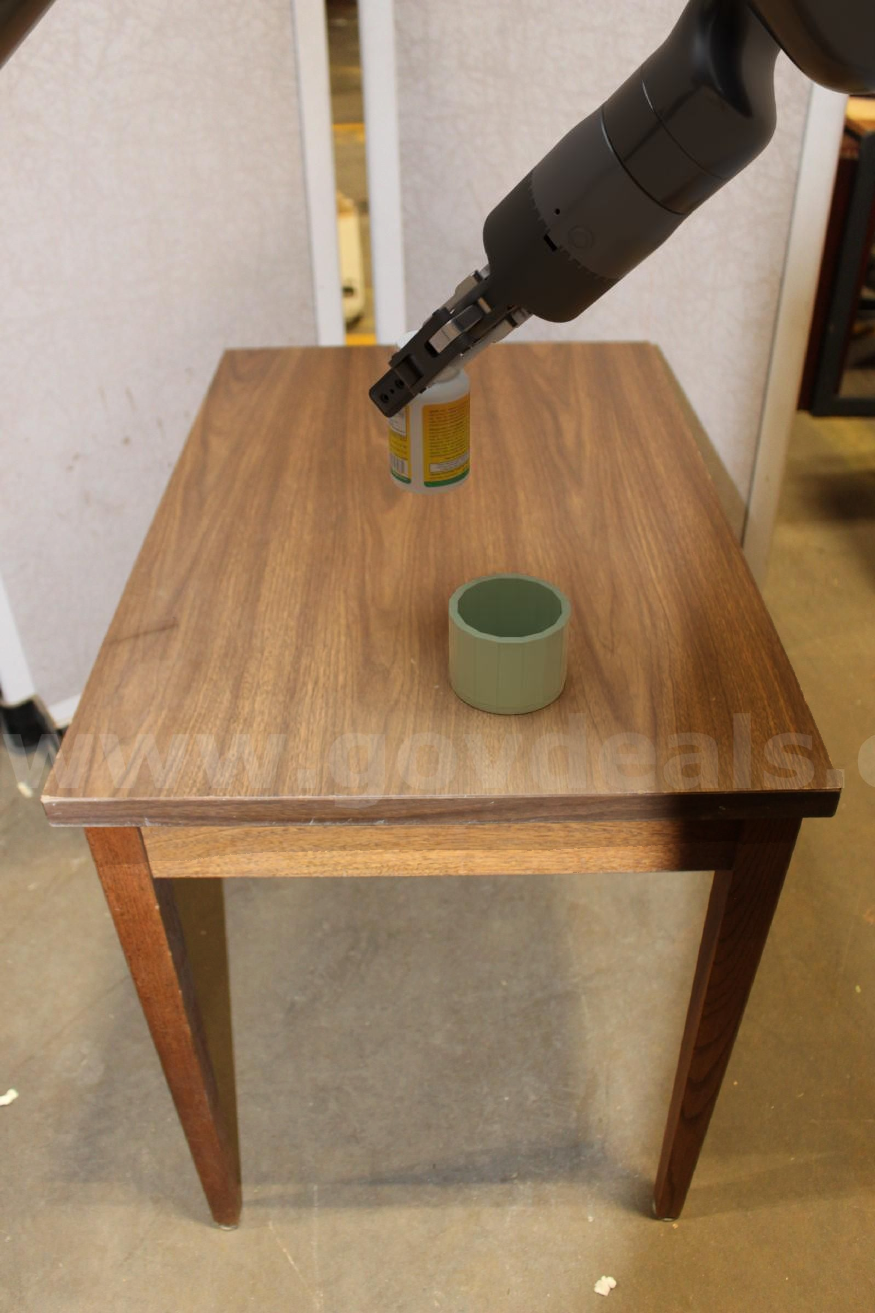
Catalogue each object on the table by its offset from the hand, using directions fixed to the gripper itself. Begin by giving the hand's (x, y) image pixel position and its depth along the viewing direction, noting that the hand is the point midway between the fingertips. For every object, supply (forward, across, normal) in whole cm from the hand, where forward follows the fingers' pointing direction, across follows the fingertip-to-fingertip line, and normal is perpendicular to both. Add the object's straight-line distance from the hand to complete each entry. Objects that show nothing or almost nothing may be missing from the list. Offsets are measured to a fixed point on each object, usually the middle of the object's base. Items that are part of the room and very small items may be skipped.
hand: (404, 386), depth 69 cm
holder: (+6, +4, +20) cm, 21 cm away
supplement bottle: (+3, 0, +6) cm, 7 cm away
